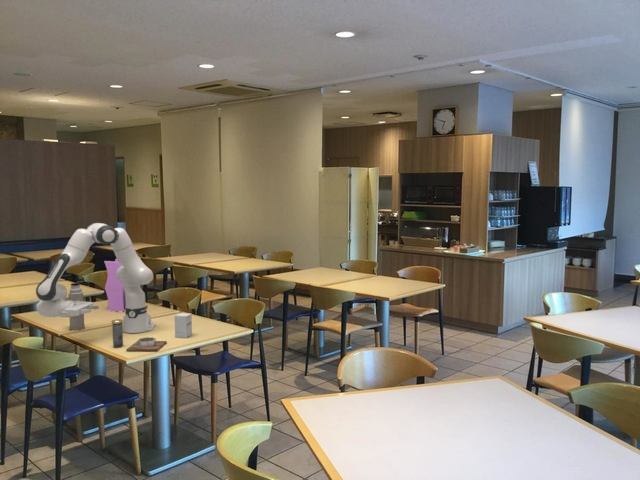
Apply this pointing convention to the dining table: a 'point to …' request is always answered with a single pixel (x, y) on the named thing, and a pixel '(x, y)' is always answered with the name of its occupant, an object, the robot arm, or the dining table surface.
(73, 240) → the robot arm
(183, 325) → the supplement box
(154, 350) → the mount plate
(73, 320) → the thermos bottle
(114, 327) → the dark grey canister
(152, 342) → the steel collar
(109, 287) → the container
